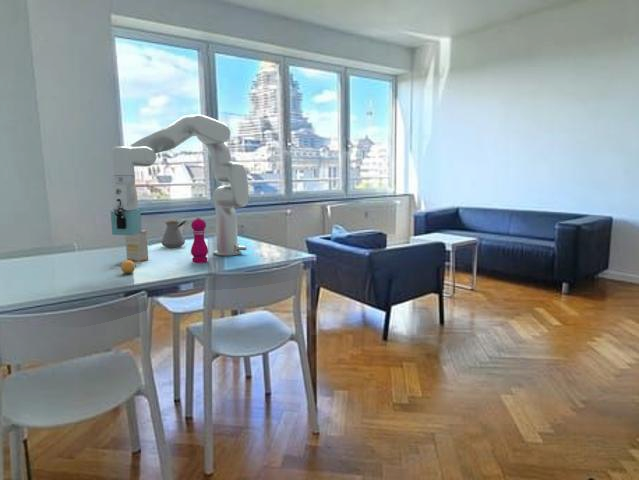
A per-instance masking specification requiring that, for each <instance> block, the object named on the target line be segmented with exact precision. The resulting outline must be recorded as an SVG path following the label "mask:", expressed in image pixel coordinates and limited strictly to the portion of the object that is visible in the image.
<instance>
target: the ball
mask: <svg viewBox="0 0 639 480" xmlns="http://www.w3.org/2000/svg"><path fill="white" fill-rule="evenodd" d="M135 268H136V265H135V263H134V261H131V260H127V259H126V260H124V261H123V262H122V263H121V265H120V269H121V271H122V272H123V273H125V274H131V273H133V272H134V270H135Z"/></svg>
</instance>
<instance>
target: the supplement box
mask: <svg viewBox="0 0 639 480" xmlns="http://www.w3.org/2000/svg"><path fill="white" fill-rule="evenodd" d="M147 234H148V233H147V230H146V229H145V230H143V229H142V232H141V233H137V234H134V235H124V236H125V248H126V249H125V250H126V251H125V252H126V260H130V261H132V262H145V261H148V260H149V251H148V250H149V249H148V235H147Z"/></svg>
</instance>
